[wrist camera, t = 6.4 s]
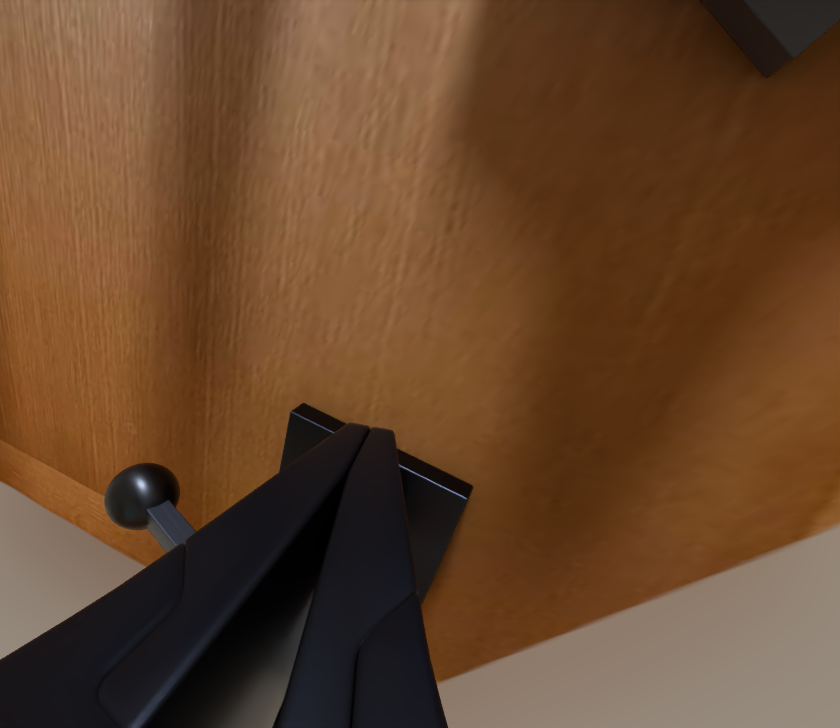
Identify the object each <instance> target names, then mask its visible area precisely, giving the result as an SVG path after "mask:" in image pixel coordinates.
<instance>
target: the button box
mask: <svg viewBox="0 0 840 728" xmlns="http://www.w3.org/2000/svg"><path fill="white" fill-rule="evenodd" d="M700 1H701V2H702V3H703V4H704V5H705V7H706V8H707V9H708V10H709V11H710V13H711V14H712V15H713V16H714V17H715V18H716V20H717V21H718V22H719V23H720V24H721V26H722V27H723V28H724V29H725V30H726V31H727V33H728V34H729V35H730V36H731V37H732V39H733V40H734V41H735V42H736V43H737V44H738V46H739V47H740V48H741V49H742V50H743V52H744V53H745V54H746V55H747V56H748V57H749V59H750V60H751V61H752V62H753V63H754V65H755V66H756V67H757V68H758V69H759V71H760V72H761V73H762V74H763V75H764V76H765V77H766V78H767V77H769V76H771V75H772V74H773V73H775V72H776V71H778V70H779V69H780V68H782V67H783V66H784V65H786V64H787V63H789V62H790V61H791V60H793V59H794V58H795V57H797V56H798V55H799V54H800V53H801V52H803V51H804V50H805V49H806V48H807V47H809V46H810V45H811V44H812V43H813V42H814V41H816V40H817V39H818V38H819V37H820V36H822V35H823V34H824V33H825V32H826V31H828V30H829V29H830V28H831V27H832V26H834V25H835V24H836V23H837V22H838V21H839V20H840V0H700Z"/></svg>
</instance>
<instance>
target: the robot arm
mask: <svg viewBox="0 0 840 728" xmlns="http://www.w3.org/2000/svg"><path fill="white" fill-rule="evenodd" d="M282 702H283V704H282ZM281 705H282V707H281ZM280 707H281V711H280V714H279V718H278V722H277V725H276V728H448V726H447V722H446V718H445V715H444V711H443V708H442V704H441V700H440V696H439V692H438V688H437V684H436V680H435V676H434V672H433V668H432V664H431V660H430V655H429V649H428V644H427V639H426V633H425V628H424V622H423V616H422V610H421V603H420V597H419V595H418V585H417V578H416V572H415V565H414V559H413V552H412V546H411V539H410V533H409V526H408V519H407V513H406V506H405V500H404V493H403V487H402V480H401V474H400V467H399V460H398V454H397V447H396V441H395V434H394V432H393V431H392V430H389V429H383V428H378V427H373V428H370V427H369V426H367V425H361V424H356V423H348V424H346V425H344V426H343V427H342V428H340V429H339V430H337V431H336V432H335V433H333V434H332V435H330V436H329V437H328V438H326V439H325V440H323V441H322V442H321V443H319V444H318V445H316V446H315V447H314V448H312V449H311V450H310V451H308V452H307V453H305V454H304V455H303V456H301V457H300V458H298V459H297V460H296V461H294V462H293V463H291V464H290V465H289V466H287V467H286V468H285V469H283V470H282V471H280V472H279V473H278V474H276V475H275V476H273V477H272V478H271V479H269V480H268V481H266V482H265V483H264V484H262V485H261V486H260V487H258V488H257V489H255V490H254V491H253V492H251V493H250V494H248V495H247V496H246V497H244V498H243V499H241V500H240V501H239V502H237V503H236V504H234V505H233V506H232V507H230V508H229V509H228V510H226V511H225V512H223V513H222V514H221V515H219V516H218V517H216V518H215V519H214V520H212V521H211V522H209V523H208V524H207V525H205V526H204V527H203V528H201V529H200V530H198V531H197V532H196V533H194V534H193V535H191V536H190V537H189V538H187V539H186V541H185V544H183V543H180V544H179V545H177V546H176V547H174V548H173V549H172V550H170V551H169V552H167V553H166V554H165V555H163V556H162V557H160V558H159V559H158V560H156V561H155V562H153V563H152V564H150V565H149V566H148V567H146V568H145V569H143V570H142V571H140V572H139V573H137V574H136V575H134V576H133V577H132V578H130V579H129V580H127V581H126V582H124V583H123V584H121V585H120V586H118V587H117V588H115V589H114V590H112V591H111V592H109V593H107V594H106V595H104V596H103V597H101V598H100V599H98V600H96V601H95V602H93V603H92V604H90V605H89V606H87V607H85V608H84V609H82V610H81V611H79V612H77V613H76V614H74V615H73V616H71V617H70V618H68V619H66V620H65V621H63V622H61V623H60V624H58V625H56V626H55V627H53V628H51V629H50V630H48V631H47V632H45V633H43V634H42V635H40V636H38V637H37V638H35V639H33V640H32V641H30V642H29V643H27V644H25V645H24V646H22V647H20V648H19V649H17V650H15V651H14V652H12V653H11V654H9V655H7V656H6V657H4V658H2V659H1V660H0V728H272V726H273V724H274V721H275V719H276V717H277V714H278V712H279V709H280Z"/></svg>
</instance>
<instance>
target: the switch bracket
mask: <svg viewBox="0 0 840 728" xmlns="http://www.w3.org/2000/svg"><path fill="white" fill-rule="evenodd" d="M344 425H346V423H344V422H341V421H339V420H337V419H335V418H333V417H331V416H329V415H327V414H325V413H323V412H321V411H319V410H317V409H315V408H313V407H311V406H309V405H307V404H305V403H302V404H301V405H299V406H298V407H297V408H295V409H294V410H292V411H291V412H290V417H289V422H288V428H287V433H286V438H285V444H284V449H283V455H282V460H281V465H280V471H282V470H283V469H285V468H286V467H287V466H289V465H290V464H291V463H293V462H294V461H296V460H297V459H298V458H300V457H301V456H303V455H304V454H305V453H307V452H308V451H310V450H311V449H312V448H314V447H315V446H316V445H318V444H319V443H321V442H322V441H323V440H325V439H326V438H328V437H329V436H330V435H332V434H333V433H335V432H336V431H337V430H339V429H340V428H342V427H343V426H344ZM397 454H398V460H399V467H400V474H401V480H402V487H403V493H404V500H405V506H406V513H407V519H408V526H409V533H410V539H411V546H412V552H413V559H414V565H415V572H416V578H417V585H418V595H419V597H420V603H421V605H422V603H423V601H424V599H425V597H426V594H427V592H428V590H429V587H430V585H431V583H432V581H433V578H434V576H435V574H436V571H437V569H438V567H439V565H440V562H441V560H442V558H443V555H444V553H445V551H446V548H447V546H448V544H449V542H450V539H451V537H452V535H453V532H454V530H455V528H456V526H457V523H458V521H459V519H460V516H461V514H462V512H463V510H464V507H465V505H466V503H467V500H468V498H469V496H470V494H471V491H472V489H473V486H472V485H470V484H468V483H466V482H464V481H462V480H460V479H458V478H456V477H454V476H452V475H450V474H448V473H446V472H444V471H442V470H440V469H438V468H436V467H434V466H432V465H430V464H427V463H425V462H423V461H421V460H419V459H417V458H415V457H413V456H411V455H409V454H407V453H405V452H403V451H401V450H399V449H397ZM280 471H279V472H280ZM282 704H283V702H282ZM281 707H282V705H281ZM281 707H280V709H279V712H278V714H277V717H276V719H275V721H274V724H273V726H272V728H276V725H277V722H278V718H279V714H280V711H281Z"/></svg>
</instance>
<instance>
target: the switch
mask: <svg viewBox="0 0 840 728" xmlns="http://www.w3.org/2000/svg"><path fill="white" fill-rule="evenodd" d="M179 496H180V487H179V483H178V480H177V478H176V477H175V475H174V474H173V473H172V472H171V471H170V470H169V469H167V468H166V467H164V466H161V465H159V464H154V463H142V464H137V465H133V466H131V467H128V468H126V469H125V470H123V471H122V472H120V473H119V474H118V475H117V476H116V477H115V478H114V479H113V480H112V481H111V483H110V484H109V486H108V488H107V490H106V494H105V500H104V503H105V509H106V512H107V514H108V516H109V517H110V519H111V520H112V521H113V522H114V523H116V524H117V525H119V526H121V527H123V528H126V529H131V530H142V529H147V528H148V530H149V531H150V532H151V534H152V535H153V536H154V538H155V539H156V540H157V541H158V543H159V544H160V545H161V547H162V548H163V549H164V550H165V552H166V553H167V552H169V551H170V550H172V549H173V548H174V547H176V546H177V545H179V544H180V543H183V544H185V541H186V539H187V538H189V537H190V536H191V535H193V534H194V533H196V531H195V530H194V529H193V528H192V527H191V525H190V524H189V523H188V522H187V521H186V519H185V518H184V517H183V516H182V515H181V514H180V512H179V511H178V510H177V509H176V506H177V503H178V500H179Z"/></svg>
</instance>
